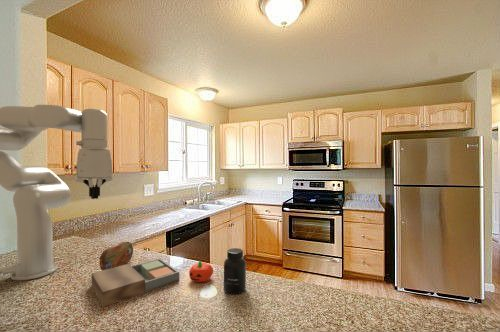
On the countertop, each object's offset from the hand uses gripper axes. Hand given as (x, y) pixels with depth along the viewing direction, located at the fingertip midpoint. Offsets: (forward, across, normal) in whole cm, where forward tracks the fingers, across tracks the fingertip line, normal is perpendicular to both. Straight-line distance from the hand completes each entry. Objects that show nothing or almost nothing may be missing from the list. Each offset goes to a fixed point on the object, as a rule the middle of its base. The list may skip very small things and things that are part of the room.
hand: (94, 198), depth 84 cm
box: (+27, +15, -15) cm, 34 cm away
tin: (+27, +8, +4) cm, 29 cm away
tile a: (+24, +16, -19) cm, 34 cm away
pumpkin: (+27, +26, -27) cm, 46 cm away
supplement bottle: (+27, +30, -40) cm, 57 cm away
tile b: (+24, +16, -11) cm, 31 cm away
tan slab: (+27, +4, -15) cm, 31 cm away
